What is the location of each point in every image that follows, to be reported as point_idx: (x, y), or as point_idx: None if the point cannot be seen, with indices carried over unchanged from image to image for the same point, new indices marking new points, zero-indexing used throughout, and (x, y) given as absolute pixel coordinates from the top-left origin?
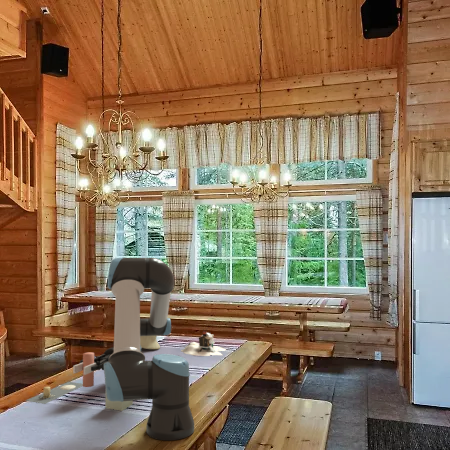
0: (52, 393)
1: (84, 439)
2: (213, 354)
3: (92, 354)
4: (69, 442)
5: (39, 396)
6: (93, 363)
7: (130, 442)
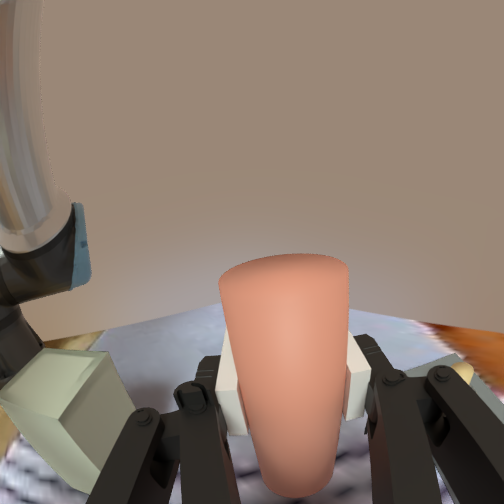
0: None
1: (148, 330)
2: None
3: (221, 280)
4: (169, 320)
5: (469, 384)
6: (234, 374)
7: (76, 339)
